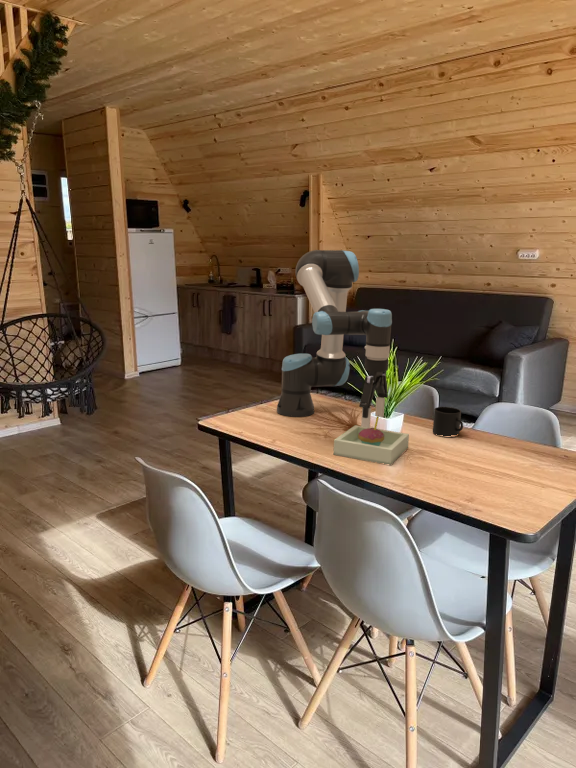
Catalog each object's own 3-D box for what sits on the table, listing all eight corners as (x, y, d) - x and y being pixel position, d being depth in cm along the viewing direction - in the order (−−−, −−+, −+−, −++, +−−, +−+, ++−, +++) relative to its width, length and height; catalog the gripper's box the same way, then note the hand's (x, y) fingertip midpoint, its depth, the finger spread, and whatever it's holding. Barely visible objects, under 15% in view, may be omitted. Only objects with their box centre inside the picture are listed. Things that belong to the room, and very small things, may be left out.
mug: (452, 441, 213) (455, 416, 211) (427, 432, 223) (428, 408, 221) (470, 437, 218) (472, 413, 216) (444, 428, 228) (446, 405, 226)
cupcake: (382, 445, 204) (384, 411, 201) (384, 454, 195) (386, 418, 193) (356, 444, 204) (358, 410, 201) (357, 453, 196) (359, 417, 193)
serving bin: (354, 438, 213) (355, 425, 212) (408, 448, 204) (409, 434, 203) (333, 454, 196) (334, 439, 195) (390, 465, 188) (391, 450, 187)
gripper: (378, 350, 206) (374, 410, 211) (351, 363, 184) (347, 429, 189) (399, 353, 203) (395, 413, 208) (375, 366, 181) (370, 433, 186)
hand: (372, 421), depth 199 cm, fingers open, 13 cm apart
